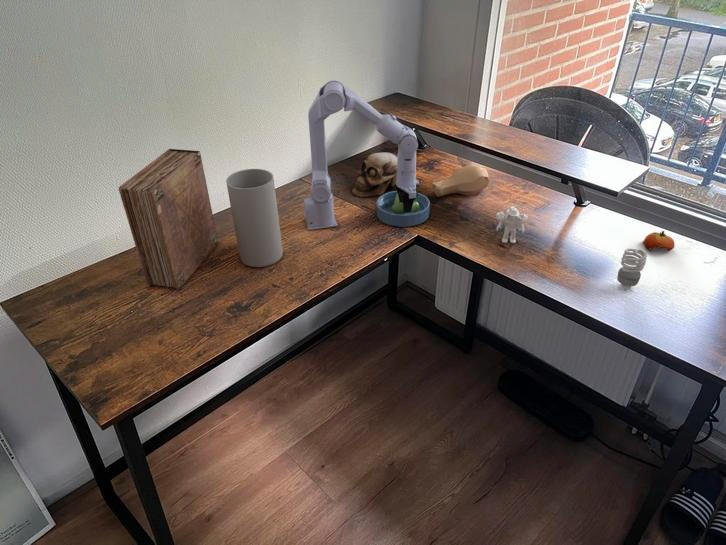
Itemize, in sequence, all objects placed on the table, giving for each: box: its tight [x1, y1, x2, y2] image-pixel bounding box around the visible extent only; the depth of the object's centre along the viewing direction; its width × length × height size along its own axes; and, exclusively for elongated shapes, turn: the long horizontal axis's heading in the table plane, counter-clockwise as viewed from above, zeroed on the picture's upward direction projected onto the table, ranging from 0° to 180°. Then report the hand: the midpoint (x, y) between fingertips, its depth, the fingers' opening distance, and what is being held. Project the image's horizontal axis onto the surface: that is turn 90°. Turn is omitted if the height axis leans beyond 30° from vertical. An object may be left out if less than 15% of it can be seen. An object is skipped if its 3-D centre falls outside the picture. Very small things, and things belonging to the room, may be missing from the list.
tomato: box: [642, 230, 676, 253], centre depth 161 cm, size 8×7×7 cm
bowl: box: [375, 190, 431, 228], centre depth 181 cm, size 17×17×4 cm
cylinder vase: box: [225, 168, 284, 268], centre depth 156 cm, size 12×12×25 cm
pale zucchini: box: [394, 193, 400, 204], centre depth 183 cm, size 10×4×4 cm, turn 165°
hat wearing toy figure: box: [495, 204, 528, 244], centre depth 164 cm, size 9×4×12 cm, turn 80°
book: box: [118, 148, 219, 291], centre depth 153 cm, size 25×9×30 cm, turn 167°
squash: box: [431, 164, 490, 198], centre depth 192 cm, size 11×20×9 cm, turn 107°
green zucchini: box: [389, 201, 419, 214], centre depth 177 cm, size 10×4×4 cm, turn 103°
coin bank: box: [351, 152, 397, 198], centre depth 195 cm, size 16×17×13 cm
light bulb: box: [616, 248, 648, 290], centre depth 143 cm, size 6×6×12 cm
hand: (405, 208), depth 177 cm, fingers closed on green zucchini, 4 cm apart
